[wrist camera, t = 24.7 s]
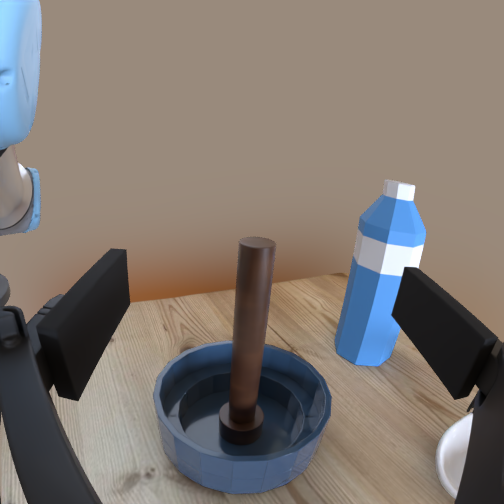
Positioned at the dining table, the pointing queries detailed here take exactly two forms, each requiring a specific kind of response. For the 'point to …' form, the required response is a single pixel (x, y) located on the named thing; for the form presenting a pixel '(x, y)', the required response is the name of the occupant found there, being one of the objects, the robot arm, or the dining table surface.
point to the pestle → (248, 341)
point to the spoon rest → (453, 454)
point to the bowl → (217, 394)
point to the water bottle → (379, 275)
